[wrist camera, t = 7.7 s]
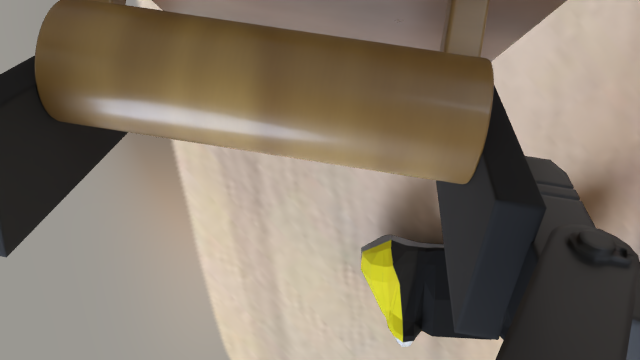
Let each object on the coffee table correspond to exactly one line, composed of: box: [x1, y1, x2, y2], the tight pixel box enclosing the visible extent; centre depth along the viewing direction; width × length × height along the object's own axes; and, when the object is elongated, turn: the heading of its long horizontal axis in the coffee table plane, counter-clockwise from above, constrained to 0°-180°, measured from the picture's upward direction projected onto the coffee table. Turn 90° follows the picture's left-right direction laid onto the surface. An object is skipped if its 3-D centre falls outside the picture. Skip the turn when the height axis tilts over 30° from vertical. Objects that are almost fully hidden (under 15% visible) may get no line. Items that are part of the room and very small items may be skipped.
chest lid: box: [35, 0, 567, 184], centre depth 18 cm, size 19×14×6 cm
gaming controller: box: [361, 235, 510, 347], centre depth 42 cm, size 15×6×10 cm
